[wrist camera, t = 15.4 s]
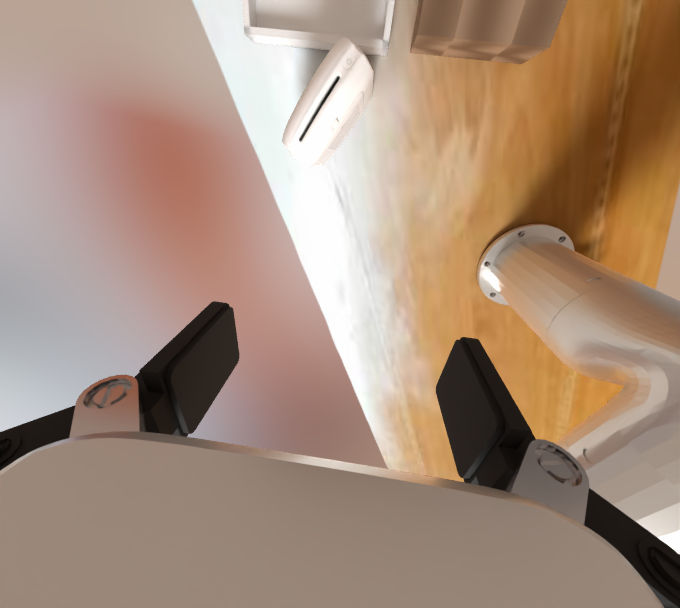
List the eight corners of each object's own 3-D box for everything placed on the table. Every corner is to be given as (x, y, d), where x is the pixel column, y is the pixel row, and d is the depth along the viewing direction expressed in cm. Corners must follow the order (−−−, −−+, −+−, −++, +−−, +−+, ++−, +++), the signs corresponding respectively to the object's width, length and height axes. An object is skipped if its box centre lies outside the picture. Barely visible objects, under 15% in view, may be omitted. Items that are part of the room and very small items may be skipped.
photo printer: (350, 63, 29) (339, 11, 18) (378, 93, 30) (382, 61, 19) (299, 145, 34) (266, 141, 23) (324, 169, 35) (304, 176, 24)
